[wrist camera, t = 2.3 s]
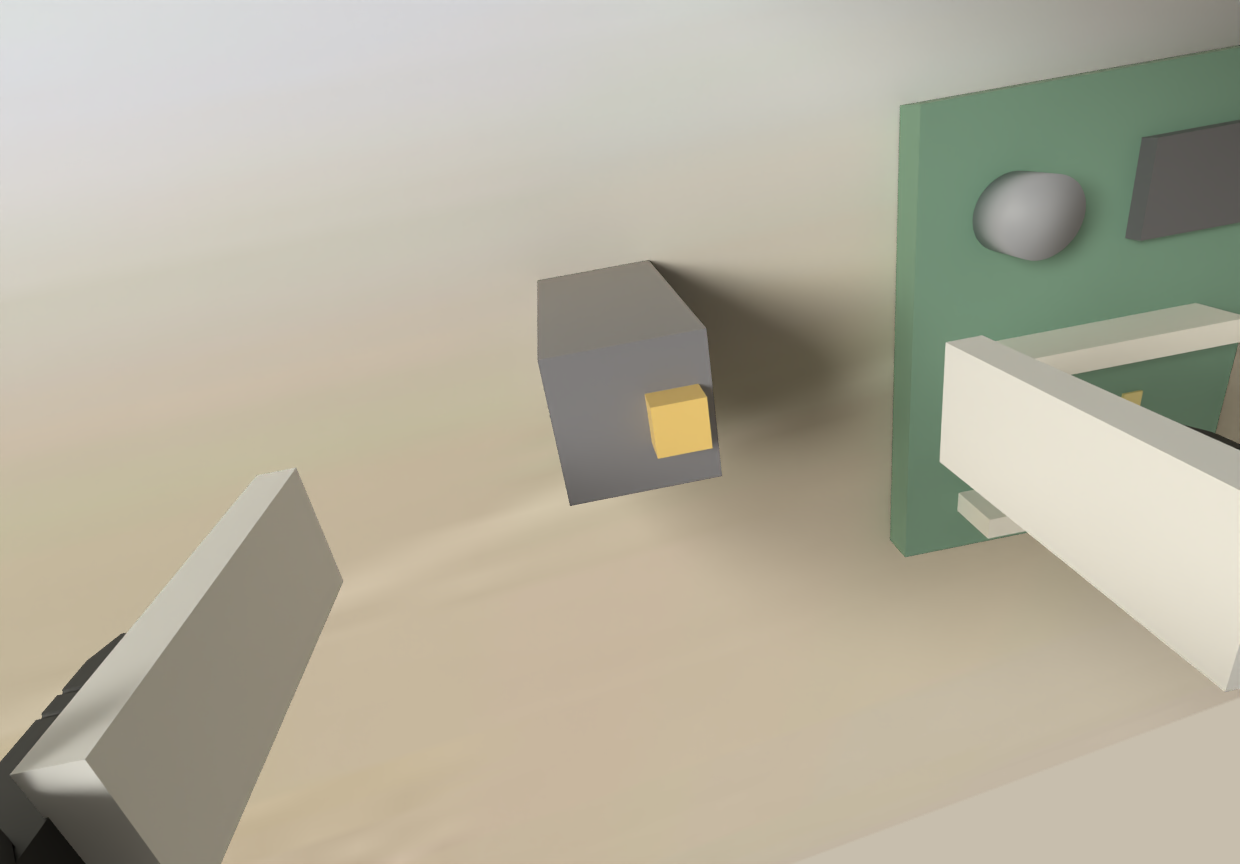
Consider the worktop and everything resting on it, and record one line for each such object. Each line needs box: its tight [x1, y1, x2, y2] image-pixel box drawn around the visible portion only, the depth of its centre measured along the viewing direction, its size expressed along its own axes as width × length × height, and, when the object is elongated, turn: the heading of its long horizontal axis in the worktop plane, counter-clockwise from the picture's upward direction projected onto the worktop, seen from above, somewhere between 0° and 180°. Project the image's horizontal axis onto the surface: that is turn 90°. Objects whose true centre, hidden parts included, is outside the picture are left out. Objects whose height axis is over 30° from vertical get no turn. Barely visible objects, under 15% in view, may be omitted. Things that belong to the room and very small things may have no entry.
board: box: [890, 45, 1240, 557], centre depth 22 cm, size 16×12×3 cm
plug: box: [537, 260, 722, 506], centre depth 18 cm, size 4×4×9 cm
